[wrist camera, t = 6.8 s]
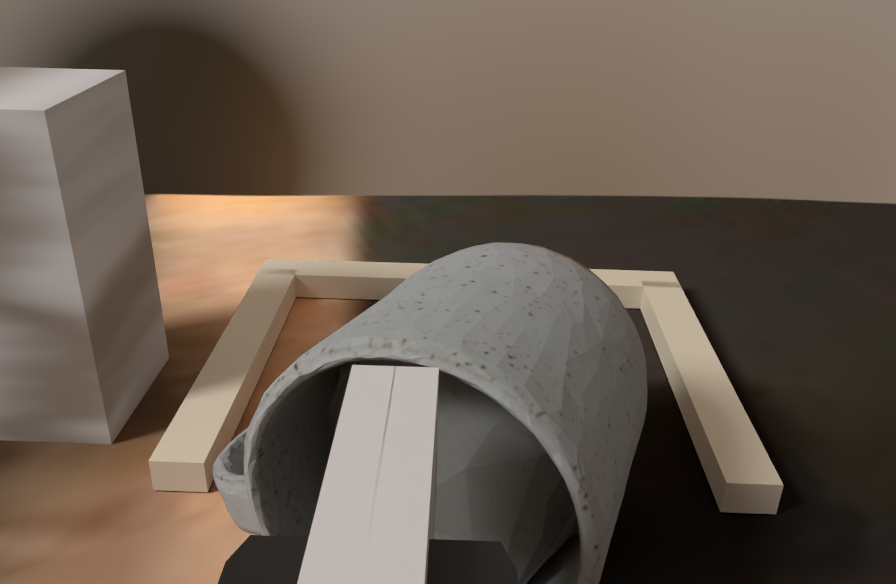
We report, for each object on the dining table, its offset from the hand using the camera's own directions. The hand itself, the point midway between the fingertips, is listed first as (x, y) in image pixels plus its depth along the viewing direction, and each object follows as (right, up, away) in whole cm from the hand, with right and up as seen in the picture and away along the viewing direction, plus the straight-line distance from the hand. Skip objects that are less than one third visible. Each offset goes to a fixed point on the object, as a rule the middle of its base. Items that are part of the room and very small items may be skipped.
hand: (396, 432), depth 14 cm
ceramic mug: (0, -4, +7) cm, 8 cm away
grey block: (-12, -1, +12) cm, 17 cm away
